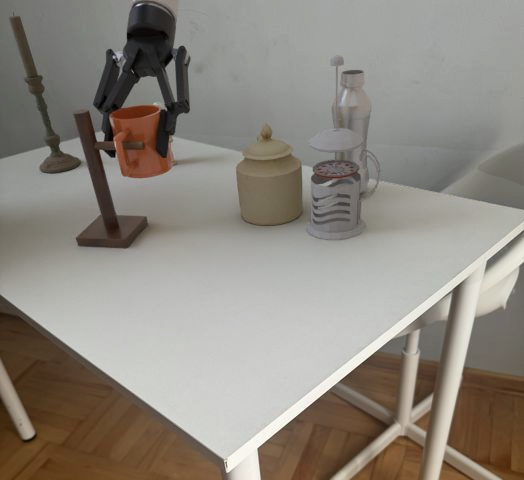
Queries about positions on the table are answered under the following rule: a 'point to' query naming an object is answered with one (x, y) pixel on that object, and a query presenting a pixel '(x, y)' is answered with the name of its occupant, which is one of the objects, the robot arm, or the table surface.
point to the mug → (139, 129)
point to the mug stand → (105, 192)
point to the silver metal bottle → (353, 120)
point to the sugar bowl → (269, 181)
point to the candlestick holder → (41, 104)
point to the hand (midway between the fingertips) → (134, 153)
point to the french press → (337, 182)
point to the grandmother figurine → (170, 135)
